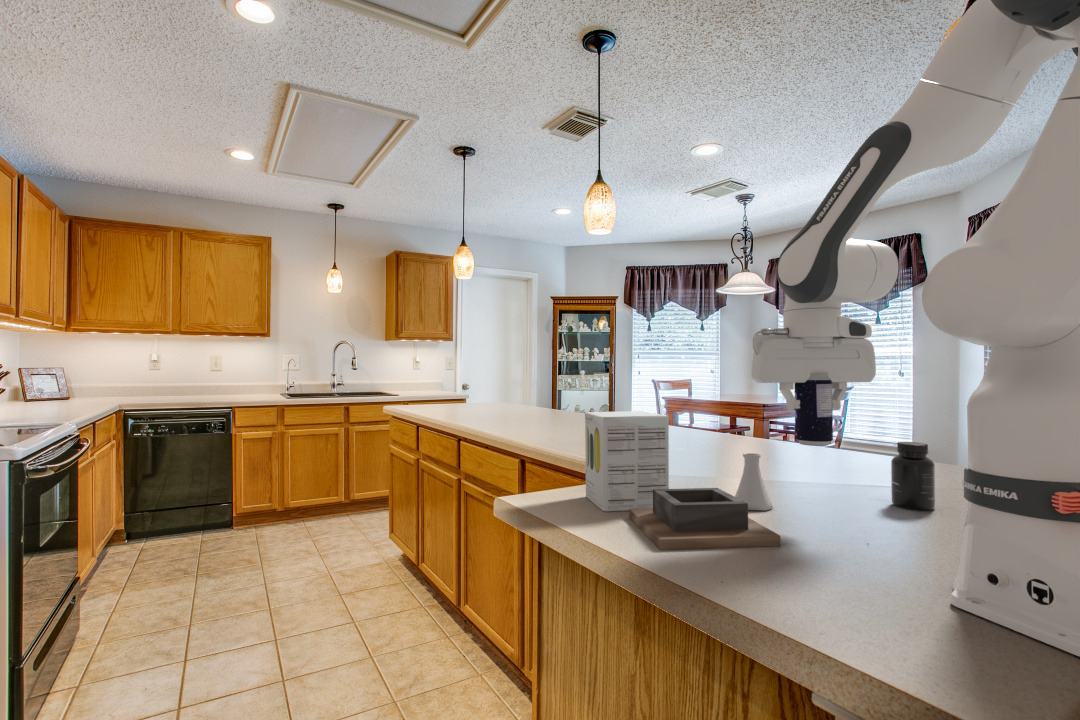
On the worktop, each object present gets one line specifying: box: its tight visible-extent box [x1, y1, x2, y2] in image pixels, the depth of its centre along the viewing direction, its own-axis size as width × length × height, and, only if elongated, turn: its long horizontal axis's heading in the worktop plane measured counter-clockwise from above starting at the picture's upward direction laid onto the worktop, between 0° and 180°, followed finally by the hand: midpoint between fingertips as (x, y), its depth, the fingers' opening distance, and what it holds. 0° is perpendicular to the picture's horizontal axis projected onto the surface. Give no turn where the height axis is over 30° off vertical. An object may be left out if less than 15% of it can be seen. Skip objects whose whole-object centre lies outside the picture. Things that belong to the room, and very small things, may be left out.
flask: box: [734, 452, 774, 511], centre depth 104 cm, size 7×7×10 cm
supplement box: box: [584, 410, 670, 512], centre depth 108 cm, size 13×13×18 cm
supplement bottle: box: [890, 441, 936, 512], centre depth 104 cm, size 7×7×12 cm
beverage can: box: [794, 373, 834, 447], centre depth 93 cm, size 6×6×12 cm
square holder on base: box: [628, 487, 782, 551], centre depth 89 cm, size 18×18×6 cm
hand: (813, 410), depth 93 cm, fingers closed on beverage can, 6 cm apart
